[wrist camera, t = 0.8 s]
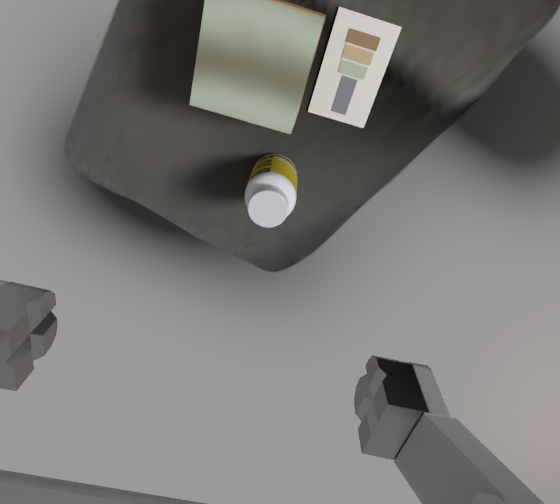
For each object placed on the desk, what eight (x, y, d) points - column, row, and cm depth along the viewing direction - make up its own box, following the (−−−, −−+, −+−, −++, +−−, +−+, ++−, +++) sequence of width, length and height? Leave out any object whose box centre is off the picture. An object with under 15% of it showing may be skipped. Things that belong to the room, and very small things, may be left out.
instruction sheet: (339, 6, 38) (339, 6, 38) (401, 27, 38) (402, 27, 38) (307, 111, 43) (307, 111, 43) (363, 127, 43) (363, 128, 43)
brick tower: (223, -18, 37) (203, -27, 29) (324, 14, 38) (330, 15, 30) (205, 91, 42) (184, 108, 35) (295, 117, 43) (293, 139, 36)
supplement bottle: (271, 142, 45) (265, 172, 36) (306, 173, 46) (307, 208, 38) (242, 176, 47) (229, 211, 39) (276, 204, 49) (271, 244, 40)
